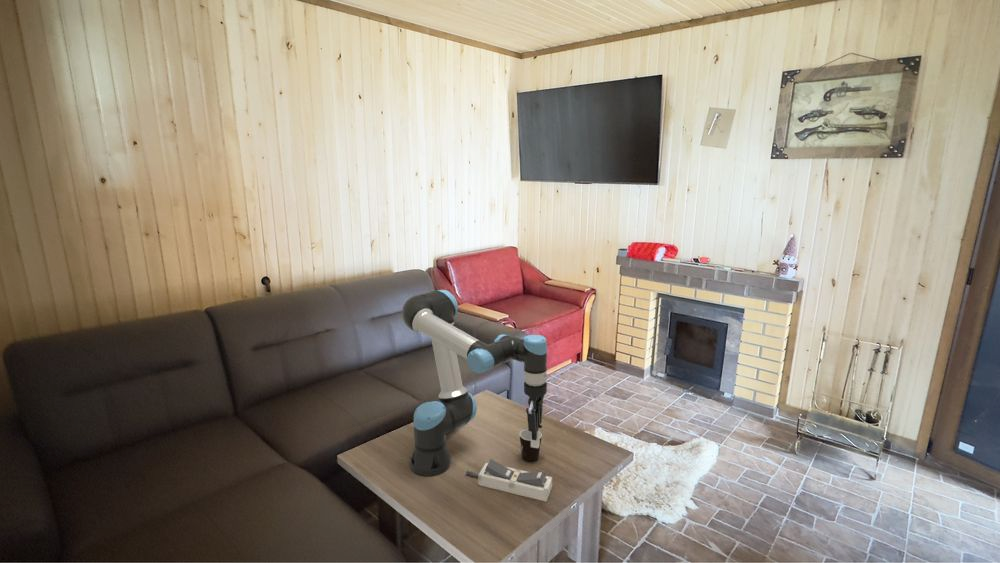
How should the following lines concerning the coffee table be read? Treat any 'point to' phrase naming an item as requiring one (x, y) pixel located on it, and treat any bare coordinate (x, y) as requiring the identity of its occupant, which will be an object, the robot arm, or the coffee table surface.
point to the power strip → (514, 484)
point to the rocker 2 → (532, 478)
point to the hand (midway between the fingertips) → (535, 446)
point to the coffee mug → (528, 447)
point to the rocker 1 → (498, 470)
